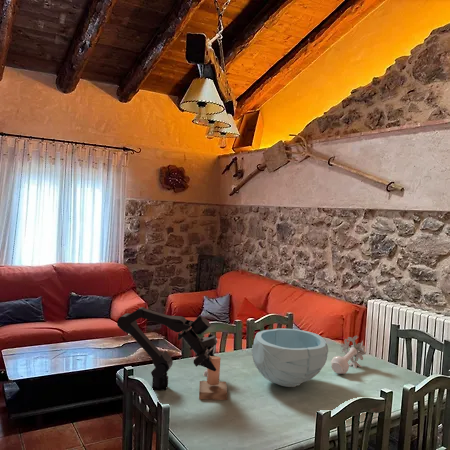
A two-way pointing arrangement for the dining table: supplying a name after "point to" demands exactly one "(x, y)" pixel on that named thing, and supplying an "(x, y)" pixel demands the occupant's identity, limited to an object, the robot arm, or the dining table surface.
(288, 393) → the dining table surface
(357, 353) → the flower vase
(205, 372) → the chalice
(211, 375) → the terracotta cylinder
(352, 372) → the dining table surface
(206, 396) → the walnut plinth
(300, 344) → the bowl
